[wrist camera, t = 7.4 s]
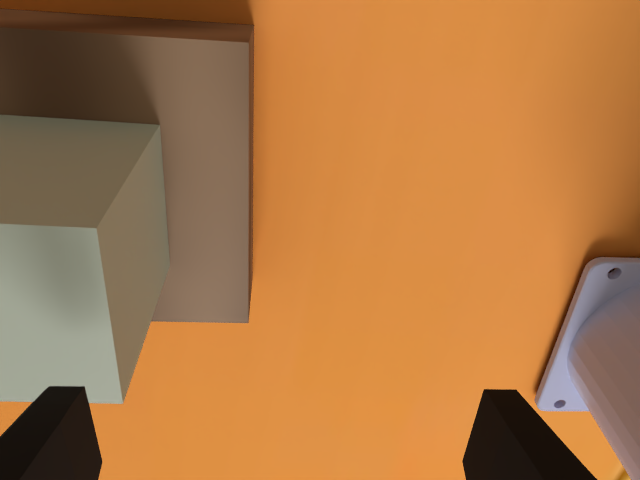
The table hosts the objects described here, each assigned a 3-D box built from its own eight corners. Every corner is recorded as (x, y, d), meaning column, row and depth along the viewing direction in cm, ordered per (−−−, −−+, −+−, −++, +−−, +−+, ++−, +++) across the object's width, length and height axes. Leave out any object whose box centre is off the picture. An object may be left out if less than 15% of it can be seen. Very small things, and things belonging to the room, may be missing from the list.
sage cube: (170, 264, 17) (122, 403, 12) (18, 258, 16) (-93, 399, 12) (159, 124, 14) (96, 228, 10) (-18, 113, 14) (-175, 215, 9)
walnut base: (254, 21, 16) (248, 42, 13) (253, 272, 21) (248, 323, 18) (-66, 1, 15) (-138, 18, 13) (7, 265, 20) (-34, 317, 17)
